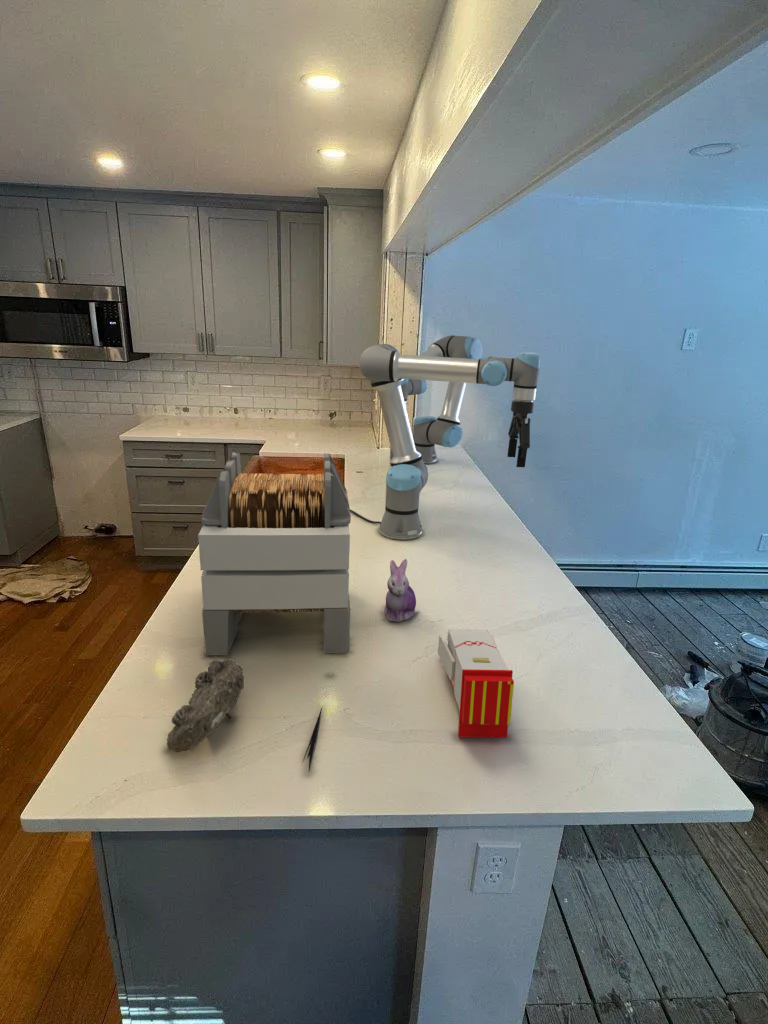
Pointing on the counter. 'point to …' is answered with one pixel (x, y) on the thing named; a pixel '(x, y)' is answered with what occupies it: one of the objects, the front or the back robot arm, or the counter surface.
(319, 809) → the counter surface
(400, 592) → the figurine
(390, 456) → the brick
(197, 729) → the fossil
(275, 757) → the counter surface
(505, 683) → the toy
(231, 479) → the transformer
